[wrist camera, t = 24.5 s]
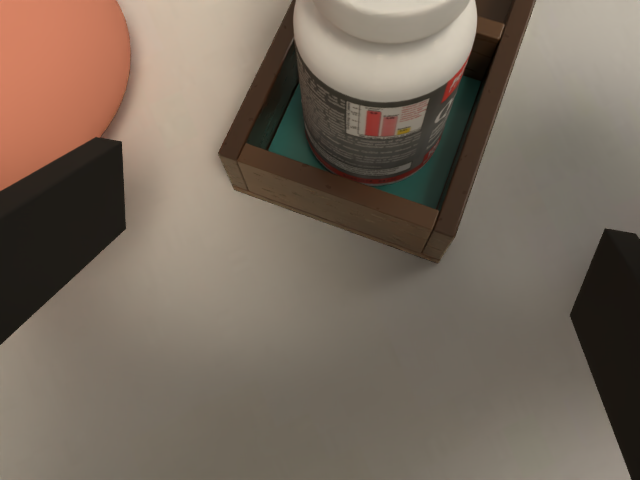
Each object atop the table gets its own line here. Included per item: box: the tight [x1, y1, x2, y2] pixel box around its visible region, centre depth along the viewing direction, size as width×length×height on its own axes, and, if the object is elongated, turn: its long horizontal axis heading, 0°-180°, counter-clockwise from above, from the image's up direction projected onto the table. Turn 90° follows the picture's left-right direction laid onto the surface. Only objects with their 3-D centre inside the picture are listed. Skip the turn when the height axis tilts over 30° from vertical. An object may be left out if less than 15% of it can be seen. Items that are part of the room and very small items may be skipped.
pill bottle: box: [293, 0, 477, 186], centre depth 19 cm, size 6×6×10 cm
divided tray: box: [218, 0, 536, 263], centre depth 24 cm, size 9×17×4 cm, turn 158°
